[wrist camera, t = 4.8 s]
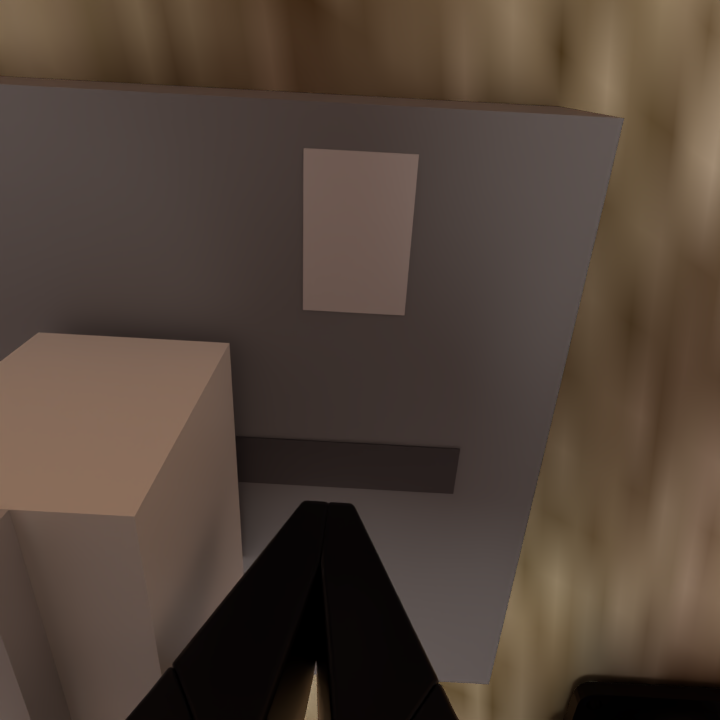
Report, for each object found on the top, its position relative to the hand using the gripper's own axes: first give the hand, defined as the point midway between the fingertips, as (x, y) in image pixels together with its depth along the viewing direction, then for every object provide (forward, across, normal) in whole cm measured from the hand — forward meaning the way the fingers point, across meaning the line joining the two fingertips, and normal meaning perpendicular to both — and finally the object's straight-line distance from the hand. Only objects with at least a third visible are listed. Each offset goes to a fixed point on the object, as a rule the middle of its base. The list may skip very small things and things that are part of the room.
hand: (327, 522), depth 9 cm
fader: (+1, +3, 0) cm, 3 cm away
